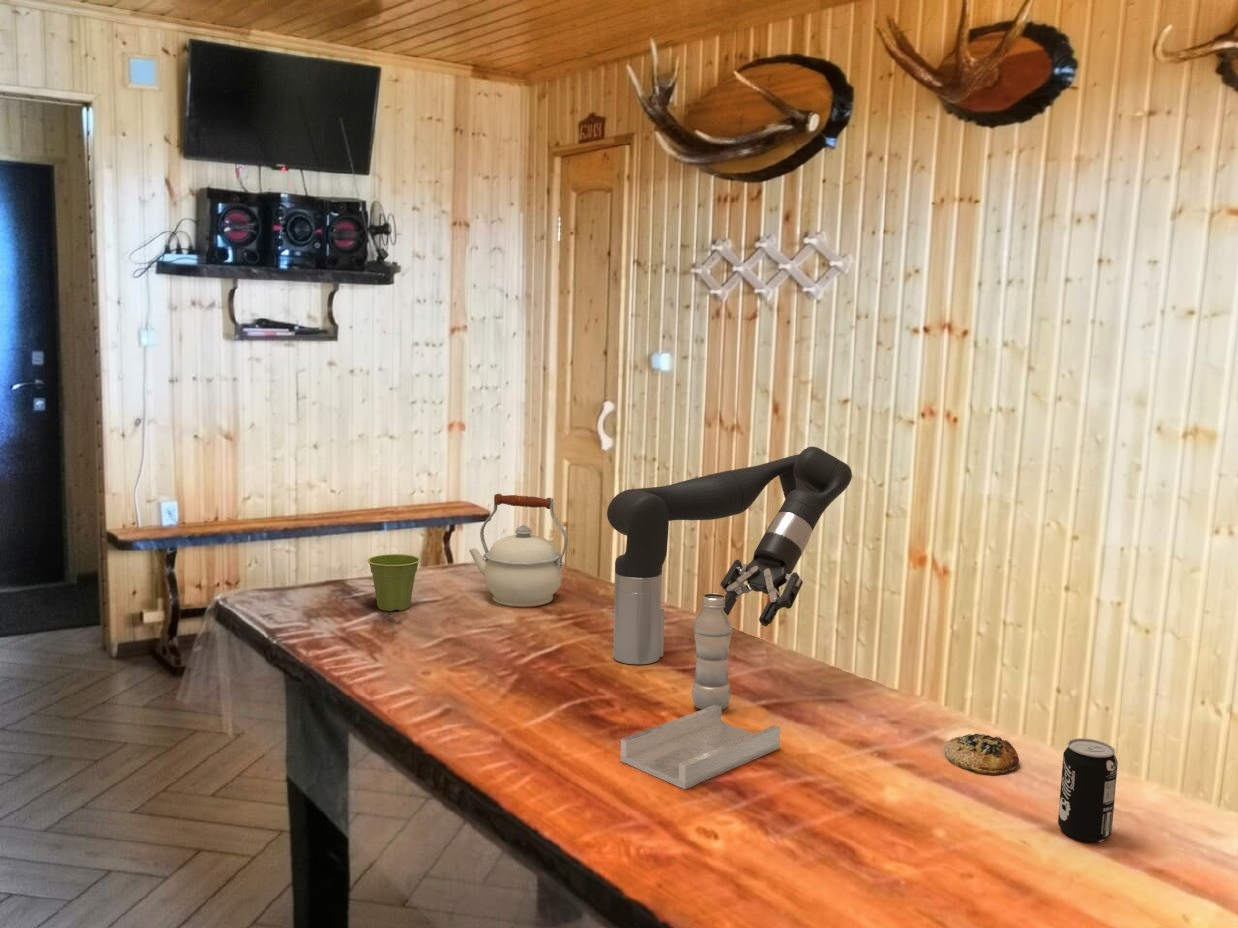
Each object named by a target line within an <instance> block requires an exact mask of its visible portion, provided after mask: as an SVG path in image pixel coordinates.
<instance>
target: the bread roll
mask: <svg viewBox="0 0 1238 928" xmlns="http://www.w3.org/2000/svg"><path fill="white" fill-rule="evenodd" d="M943 756H944V757H945V758H946V759H947V760H948V761H949V762H950V763H952V764H953V765H955V766H957V767H960V768H962V769H965V770H971V771H973V772H976V773H979V774H983V775H1001V774H1003V775H1004V774H1006V773H1009V772H1012V771H1015V769H1017V767H1019V761H1020V760H1019V759H1020V758H1019V754H1018V751H1016V748H1014V745H1012V743H1010V742H1009V741H1008V739H1005V740H1004V739H1002V737H1000V736H996V735H995V737H993V736H992V735H989V734H984V733H983V734H980V733H974V734H971V733H968V734H965V735H962V736H957V737H954V738H951V739H949V740H948V741H947V742H946V743H945V744H944V754H943Z"/></svg>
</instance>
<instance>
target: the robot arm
mask: <svg viewBox="0 0 1238 928" xmlns="http://www.w3.org/2000/svg"><path fill="white" fill-rule="evenodd" d="M852 476H853V474H852V469H851V467H850V465H848V464H847V463H845V462H844V461H842V460H841V459H839V458H838V457H836V456H833V455H832V454H830V453H828V452H826V451H825V450H823V449H821V448H819V447H818V446H808V447H806V448H805V449H803V450H802V451H800V453H798V454H797V453H796V454H794V455H790V456H787V457H782V458H778V459H775V460H773V461H768V462H764V463H761V464H757V465H753V466H748V467H744V468H743V467H742V468H735V469H731V470H726V471H725V470H724V471H720V472H715V473H710V474H707V475H704V476H698V477H694V478H691V479H687V480H682V481H678V482H676V483H672V484H667V485H662V486H655V487H654V486H653V487H645V488H644V487H643V488H641V487H640V488H630V489H626V490H623V491H621V492H619V493H618V494H616V495H615V496H614V497H613V498H612V500H611V501H610V503H609V505H608V507H607V511H606V517H607V521H608V522H609V524H610V526H611V527H612V529H614V530H616V532H618V533H620V534H621V535H625V536H626V546H625V551H624V552H625V553H624V554H621V555H618V557H616V559H615V562H614V595H613V596H614V598H613V599H614V602H613V603H614V604H613V606H614V607H613V648H612V649H613V651H612V652H613V654H612V655H613V659H614V660H615V661H617V662H620V663H623V664H628V665H648V664H654V663H655V662H658V661H660V660H661V659H660V658H663V657H664V645H665V644H664V642H665V641H664V639H665V637H664V635H665V610H664V608H662V586H663V585H662V583H663V582H662V581H663V579H662V578H663V565H664V563H665V561H666V558H667V553H668V542H669V527H670V522H671V521H711V520H718V519H724V518H728V517H731V516H736V515H740V514H742V513H744V512H745V511H746V510H748V509H749V508H750V506H752V505H753V504H754V502H755V501H756V500H757V498H758V497H759V495H761V493H762V491H763V490H764V489H765V488H766V486H767V485H769V484H770V482H771V481H773V480H774V479H775V478H777V477H778V478H779V481H780V486H781V489H782V493H783V496H784V501H783V503H782V504H781V507H780V508H779V510H778V512H777V514H776V515H775V517H774V518H773V519H772V521H771V522H770V523H769V525H768V526H767V528H766V531H765V532H764V534H763V536H762V538H761V540H760V542H759V543H758V545H757V547H756V548H755V550H754V553H753V558H752V559H751V561H750V562H749V563H748V564H746V563H742V561H740V559H735V560H733V563H732V564H731V566H730V567H729V569H728V570H727V572H726V573H725V575H724V577H723V579H722V580H721V581H720V584H719V585H720V586H721V588H722V589H723V590H724V592H725V594H724V596H725V608H723V610H724V612H725V613H726V615H727V616H728V617H729V615H730V613H731V612H732V609H733V608H734V606H735V604H736V603H737V600H738V599H737V598H739V597H741V596H742V595H743V594H749V593H750V592H756V593H757V592H760V593H763V594H765V595H768V596H769V601H770V602H769V601H767V603H766V605H765V607H764V608H763V610H762V612H761V614H760V615H759V618H758V622H759V623H760V624H761V626H763V627H768V626H769V625H770V624H772V622H773V621H774V619H775V617H776V615H777V614H778V612H779V611H780V610H781V609H783V608H785V609H787V610H789V609H791V608H792V607H793V605H794V603H795V601H796V599H797V596H798V594H799V592H800V590H801V587H802V585H803V583H804V582H803V579H802V578H801V577H800V575H799V574H798V572H796V571H794V570H795V568H796V566H797V564H798V562H799V560H800V558H801V557H802V555H803V553H804V551H805V550H806V547H807V545H808V543H809V541H810V538H811V535H812V534H813V531H814V529H815V527H816V525H817V523H818V522H819V520H820V519H821V516H822V515H823V514H824V512H825V511H826V509H827V508H828V507H829V506H830V505H831V504H832V503H833V502H834V501H835V500H836V499H837V498H838V497H839V496H841V494H842V493H843V492H844V491H845V490H846V489H847V488H848V487H849V485H850V483H851V481H852ZM793 571H794V572H793ZM745 582H747V584H745ZM784 585H785V587H784V590H783V592H782V594H781V588H780V587H782V586H784Z"/></svg>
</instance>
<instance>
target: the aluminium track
mask: <svg viewBox="0 0 1238 928" xmlns="http://www.w3.org/2000/svg"><path fill="white" fill-rule="evenodd" d="M722 711H723V710H722V707H721V706H718V705H714V706H711V707H708V708H705V709H703V710H702V709H699V710H697V711H695V712H692V713H690V714H686V715H684V716H680V717H678V718H675V719H672V720H670V721H667V722H665V723H662V724H659V725H656V726H654V727H651V728H648V729H644V730H642V731H640V732H637V733H634V734H630V735H629V736H626V737H623V738H620V759H619V760H620V762H621V763H624V764H625V765H628V766H631V767H632V768H635V769H637V770H639V771H641V772H644V773H646V774H649V775H650V776H654V777H656V778H658V779H660V780H662V781H665V782H667V783H668V784H669V783H670V784H671V785H674V786H676V787H678V788H680V789H682V790H687V789H690V788H691V787H694V786H696V785H699V784H701V783H704V782H706V781H707V780H708V781H709V780H710V779H713V778H714V777H717V776H720V775H722V774H724V773H727V772H729V771H732V770H734V769H736V768H737V767H740V766H742V765H744V764H747V763H750V762H752V761H754V760H756V759H758V758H761V757H763V756H765V755H768V754H770V753H772V752H775V751H778V750H779V749H780V740H781V739H780V738H781V727H780V726H777V725H774V724H773V725H771V726H768V727H766V728H763V729H762V730H759V731H757V732H751V731H749V730H747V729H743V728H741V727H739V726H735V725H732V724H729V723H728V722H725V721H722Z"/></svg>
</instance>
